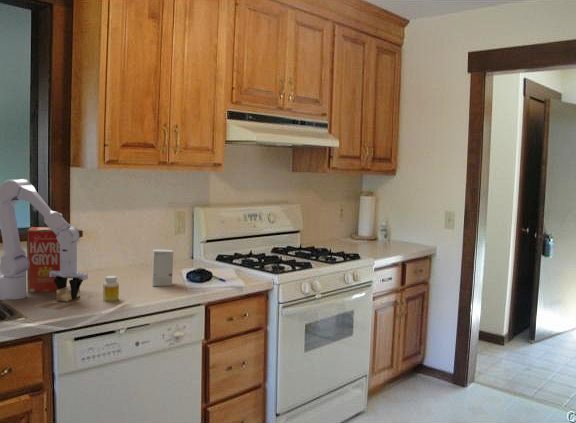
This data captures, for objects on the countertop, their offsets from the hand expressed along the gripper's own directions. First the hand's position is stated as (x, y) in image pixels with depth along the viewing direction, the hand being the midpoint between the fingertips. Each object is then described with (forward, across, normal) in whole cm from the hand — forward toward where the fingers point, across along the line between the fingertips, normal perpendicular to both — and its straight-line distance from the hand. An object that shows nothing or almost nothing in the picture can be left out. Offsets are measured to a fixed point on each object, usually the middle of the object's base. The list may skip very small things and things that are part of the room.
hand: (68, 297), depth 195 cm
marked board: (+2, 0, -2) cm, 3 cm away
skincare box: (+2, +19, +36) cm, 41 cm away
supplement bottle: (+2, +14, +4) cm, 15 cm away
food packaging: (+2, -16, +10) cm, 20 cm away
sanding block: (+1, 0, 0) cm, 1 cm away
